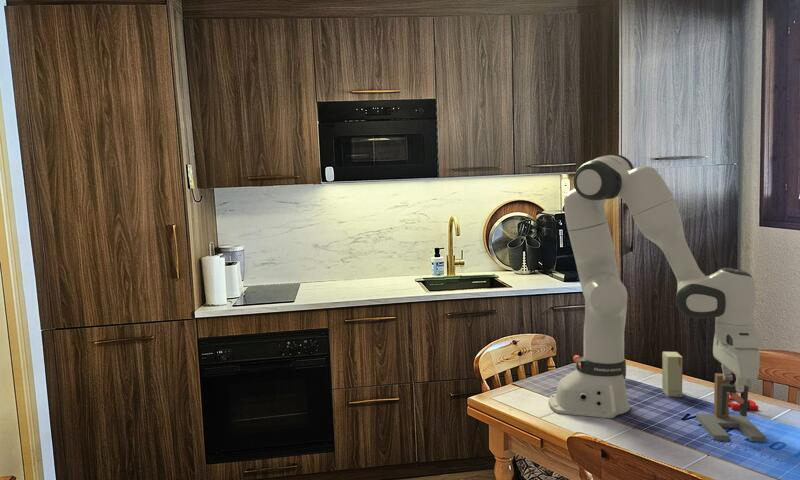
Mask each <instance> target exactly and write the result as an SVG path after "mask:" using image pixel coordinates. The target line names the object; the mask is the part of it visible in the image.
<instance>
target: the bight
mask: <svg viewBox="0 0 800 480" xmlns="http://www.w3.org/2000/svg"><path fill="white" fill-rule="evenodd" d="M727 392H735V393H737V394H740V397H741V398H742V399H743V400H744V403H743V404H739V405H740V410H739V415H742V416H745V417H748V410H747V402H748V399H749V387H748V385H747V386H746V385H744V392H737V391H736V390H735V389H734V384H730V383H729V384H720V398H719V413H720V414H721V415H726V397H727Z"/></svg>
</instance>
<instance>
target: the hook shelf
mask: <svg viewBox="0 0 800 480" xmlns="http://www.w3.org/2000/svg"><path fill="white" fill-rule="evenodd" d="M720 384H730V382H726V381H725V380H723V373H716V372H715V373H714V389H713V390H714V391H713V392H714V393H713V395H714V399H713V413H695V419H696V420H697V421H698V423H699V424H700V425H701V426H702V427H703V428H704V430H705V431H706V432H707V433H708V435H709V436H710V437H711V438H712V439H713V440H715V441H730V434H728V432H727V431H726V430H725V428H729V429H730V428H731V429H738V430H739V431H740V432H741V433H742V434H743V435H744V436H745V437H746V436H747V437H748V438H747V437H746V438H747V439H749V441H751V442H764V441H766V442H767V436H766V435H765V434H764V433H763V432H762V430H760V429H759V428H758V427H756V426H755V424H753V422H751V421H750V419H748V418H747V416H742V415H741V414H730V413H729V411H730V406H729V402H730V401H729V397H732V398H733V399H734V400H735V401H734V402H736V404H738V405H740V404H743V403H744V400H743V399H742V398H741V395H739V393H735V392H727V397H726V415H721V414H720V413H719V398H720Z"/></svg>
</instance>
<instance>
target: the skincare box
mask: <svg viewBox="0 0 800 480" xmlns="http://www.w3.org/2000/svg"><path fill="white" fill-rule="evenodd" d="M661 355H662V358H661V359H662V360H661V361H662V362H661V363H662V370H661V371H662V377H661V378H662V383H661V384H662V387H661V389H662V392H663V393H664V394H665V395H666V396H667V397H681V398H682V397H683V356H682V355H681V354H680V353H679V352H678V351H662V354H661Z"/></svg>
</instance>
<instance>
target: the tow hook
mask: <svg viewBox="0 0 800 480" xmlns="http://www.w3.org/2000/svg"><path fill="white" fill-rule="evenodd" d="M745 385H746V386H747V387H748V380H747V381H746V383H745ZM732 401H733V402H732ZM735 402H736V401H735V400H734V399H733V398H732V397H731V396H729V407H730V409H731V410H734V411H735V410H737V411H738V410H739V411H740V404H738V403H735ZM758 410H759V405H757V404H756V402H755V401H754V400H752V399H750V398H748V402H747V411H758Z"/></svg>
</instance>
